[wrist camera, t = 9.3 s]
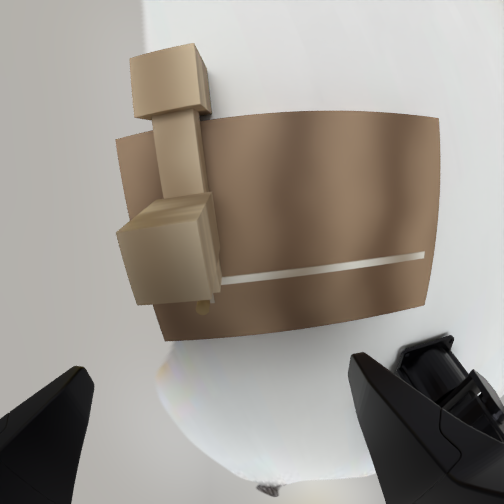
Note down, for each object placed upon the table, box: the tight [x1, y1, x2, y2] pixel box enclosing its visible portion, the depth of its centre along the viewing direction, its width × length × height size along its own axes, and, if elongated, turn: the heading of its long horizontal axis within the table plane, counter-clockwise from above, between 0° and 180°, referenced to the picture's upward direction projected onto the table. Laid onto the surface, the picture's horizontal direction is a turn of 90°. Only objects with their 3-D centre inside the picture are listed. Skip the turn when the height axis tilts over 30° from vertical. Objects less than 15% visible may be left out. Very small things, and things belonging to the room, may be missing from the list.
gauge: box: [116, 43, 222, 315], centre depth 13 cm, size 3×13×9 cm, turn 6°
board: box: [116, 111, 440, 341], centre depth 18 cm, size 20×14×2 cm
